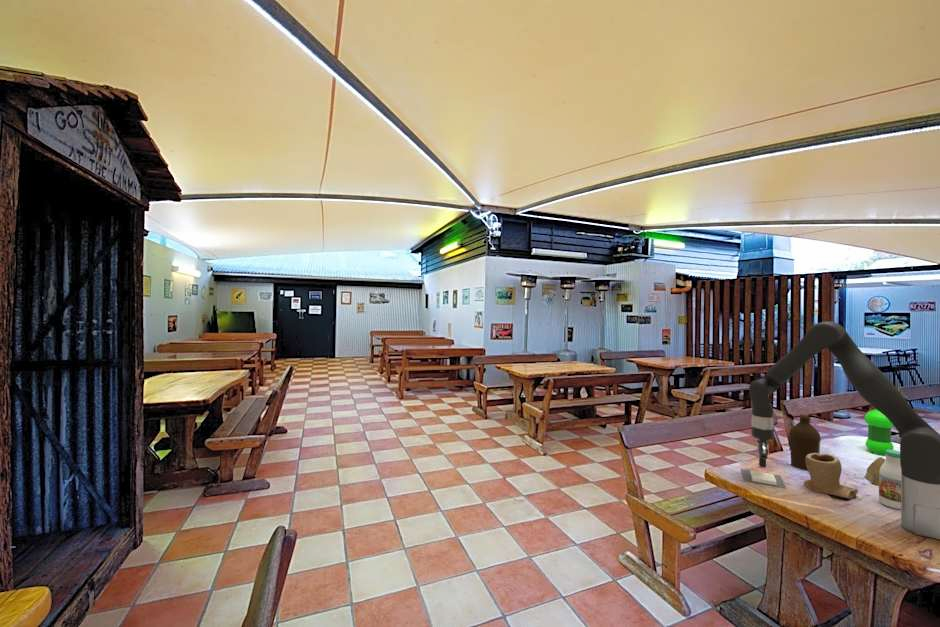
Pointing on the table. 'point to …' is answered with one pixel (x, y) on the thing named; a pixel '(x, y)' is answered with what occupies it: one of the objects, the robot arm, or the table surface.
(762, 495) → the table surface
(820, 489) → the tan hollow piece
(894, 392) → the robot arm
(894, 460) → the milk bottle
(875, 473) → the rock
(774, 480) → the tile
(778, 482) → the mat
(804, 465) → the olive oil
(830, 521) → the table surface
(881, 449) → the plastic bottle
